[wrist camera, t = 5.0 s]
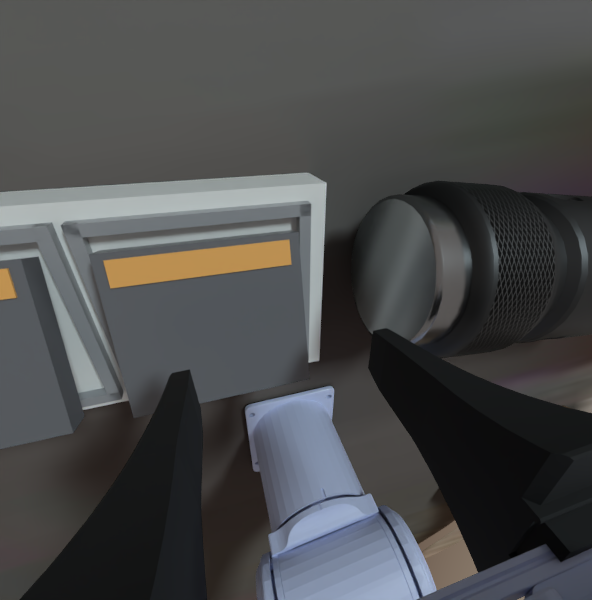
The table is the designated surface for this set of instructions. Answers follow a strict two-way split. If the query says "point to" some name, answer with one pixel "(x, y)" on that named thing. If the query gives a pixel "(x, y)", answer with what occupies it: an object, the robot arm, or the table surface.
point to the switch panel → (149, 231)
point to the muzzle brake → (475, 267)
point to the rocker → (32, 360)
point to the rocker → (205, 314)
